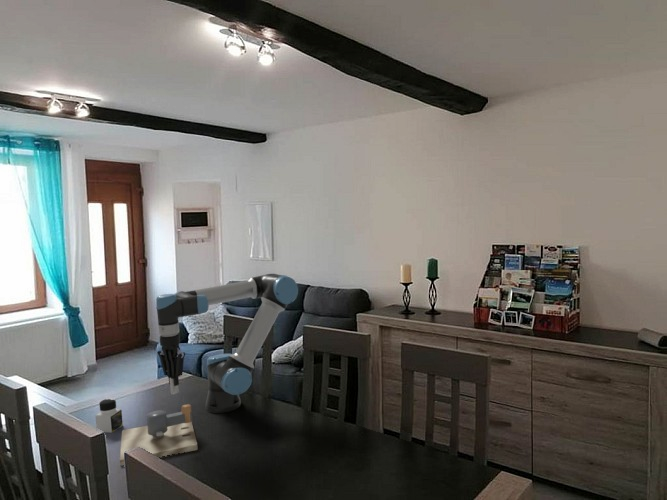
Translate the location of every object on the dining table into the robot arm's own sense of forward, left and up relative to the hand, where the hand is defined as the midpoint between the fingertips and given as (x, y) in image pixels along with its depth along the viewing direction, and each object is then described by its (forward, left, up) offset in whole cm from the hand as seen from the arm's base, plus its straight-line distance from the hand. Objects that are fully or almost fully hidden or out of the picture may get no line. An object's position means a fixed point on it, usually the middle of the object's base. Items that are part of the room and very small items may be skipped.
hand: (174, 393), depth 197 cm
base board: (+7, +6, -16) cm, 18 cm away
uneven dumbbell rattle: (+3, +5, -12) cm, 13 cm away
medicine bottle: (+25, -16, -16) cm, 34 cm away
